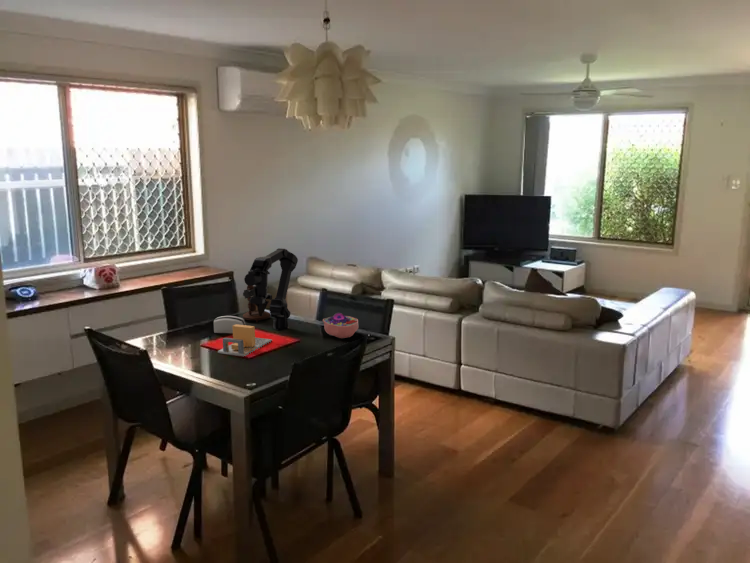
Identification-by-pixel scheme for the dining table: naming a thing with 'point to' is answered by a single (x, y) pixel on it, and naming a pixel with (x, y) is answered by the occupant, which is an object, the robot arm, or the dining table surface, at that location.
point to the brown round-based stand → (254, 310)
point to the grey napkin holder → (227, 323)
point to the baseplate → (246, 349)
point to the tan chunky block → (244, 335)
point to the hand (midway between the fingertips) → (260, 316)
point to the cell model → (340, 325)
